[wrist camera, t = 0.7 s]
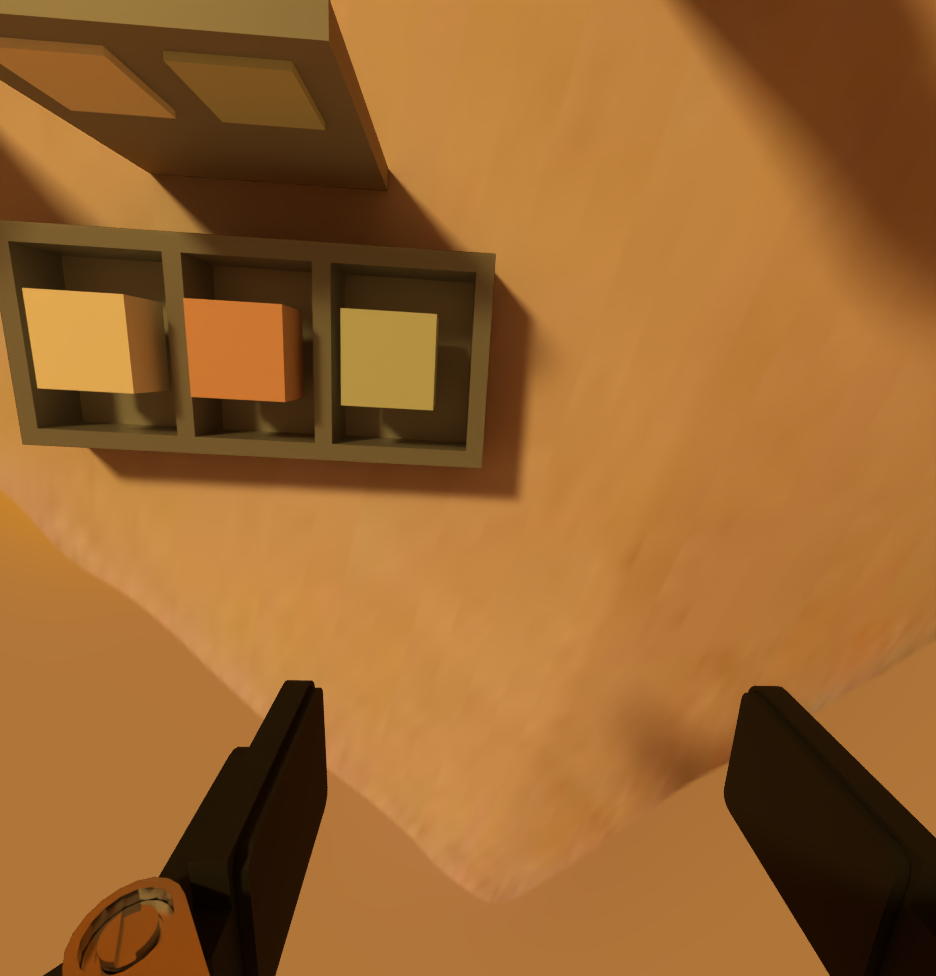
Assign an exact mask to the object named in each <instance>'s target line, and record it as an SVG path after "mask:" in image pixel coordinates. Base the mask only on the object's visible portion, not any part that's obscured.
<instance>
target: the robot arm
mask: <svg viewBox="0 0 936 976" xmlns="http://www.w3.org/2000/svg"><path fill="white" fill-rule="evenodd" d="M724 798H725V802H726V805H727V808H728V810H729V812H730V813H731V815H732V817H733V818H734V820H735V821H736V823H737V825H738V826H739V828H740V830H741V831H742V833H743V834H744V836H745V838H746V839H747V841H748V842H749V844H750V846H751V848H752V849H753V851H754V852H755V854H756V855H757V857H758V859H759V860H760V862H761V864H762V865H763V867H764V869H765V870H766V872H767V874H768V875H769V877H770V879H771V880H772V882H773V883H774V885H775V887H776V888H777V890H778V892H779V893H780V895H781V896H782V898H783V900H784V901H785V903H786V905H787V906H788V908H789V910H790V911H791V913H792V914H793V916H794V918H795V919H796V921H797V923H798V924H799V926H800V927H801V929H802V931H803V932H804V934H805V936H806V937H807V939H808V941H809V942H810V944H811V945H812V947H813V948H814V950H815V952H816V954H817V955H818V957H819V958H820V960H821V962H822V963H823V965H824V967H825V968H826V970H827V972H828V973H829V975H830V976H936V838H935V837H934V836H933V835H932V834H931V833H930V832H929V831H928V830H927V829H926V828H925V827H924V826H923V825H922V824H921V823H920V822H919V821H918V820H917V819H916V818H915V817H914V816H913V815H912V814H911V813H910V812H909V811H908V810H907V809H906V808H905V807H904V806H903V805H902V804H901V803H900V802H899V801H898V800H897V799H896V798H894V796H893V795H892V794H891V793H889V791H888V790H886V789H885V788H884V787H883V786H882V785H881V784H880V783H879V782H878V781H877V780H876V779H875V778H874V777H873V776H872V775H871V774H870V773H869V772H868V771H867V770H866V769H865V768H864V767H863V766H862V765H861V764H860V763H859V762H858V761H857V760H856V759H855V758H854V757H853V756H852V755H851V754H850V753H849V752H848V751H847V750H846V749H845V748H844V747H843V746H842V745H841V744H840V743H839V742H838V741H837V740H836V739H835V738H834V737H833V736H832V735H831V734H830V733H829V732H828V731H826V729H824V727H823V726H822V725H821V724H820V723H819V722H817V721H816V720H815V719H814V718H813V717H812V716H811V715H810V714H809V713H808V712H807V711H806V710H805V709H804V708H803V707H802V706H801V705H800V704H799V703H798V702H797V701H796V700H795V699H794V698H793V697H792V696H791V695H790V694H789V693H788V692H787V691H786V690H785V689H783V688H782V687H779V686H753V687H751V688H750V689H749V691H748V693H744V695H743V696H742V699H741V704H740V709H739V715H738V720H737V725H736V730H735V735H734V740H733V745H732V751H731V756H730V761H729V766H728V771H727V777H726V782H725V787H724ZM326 800H327V768H326V747H325V726H324V705H323V690H322V688H315V685H314V682H313V681H301V680H287V681H285V683H284V684H283V686H282V688H281V689H280V691H279V693H278V695H277V697H276V699H275V701H274V702H273V704H272V706H271V708H270V710H269V712H268V714H267V715H266V717H265V719H264V721H263V723H262V725H261V726H260V728H259V730H258V732H257V734H256V736H255V738H254V740H253V741H252V743H251V745H250V747H237V748H235V749H234V750H233V751H232V753H231V754H230V755H229V757H228V759H227V760H226V762H225V764H224V766H223V767H222V769H221V771H220V772H219V774H218V776H217V778H216V779H215V781H214V783H213V784H212V786H211V788H210V790H209V791H208V793H207V795H206V796H205V798H204V800H203V802H202V803H201V805H200V807H199V809H198V810H197V812H196V814H195V816H194V817H193V819H192V821H191V823H190V824H189V826H188V827H187V829H186V831H185V833H184V834H183V836H182V838H181V840H180V841H179V843H178V845H177V846H176V849H175V850H174V852H173V853H172V855H171V857H170V858H169V860H168V862H167V864H166V865H165V867H164V869H163V871H162V872H161V874H160V876H159V877H152V878H147V879H143V880H138V881H135V882H133V883H131V884H129V885H127V886H125V887H122V888H120V889H118V890H117V891H115V892H114V893H113V894H111V895H109V896H108V897H106V898H105V899H103V900H102V901H101V902H100V903H99V904H98V905H97V906H96V907H95V908H94V909H93V910H91V912H90V913H88V914H87V915H86V916H85V918H84V919H83V920H82V922H81V923H80V924H79V926H78V927H77V929H76V930H75V931H74V932H73V934H72V936H71V938H70V941H69V943H68V945H67V947H66V949H65V952H64V960H63V963H62V964H60V965H59V966H57V967H56V968H54V969H53V970H51V971H50V972H48V973H47V974H45V975H43V976H275V975H276V971H277V968H278V965H279V961H280V958H281V954H282V951H283V948H284V944H285V941H286V938H287V934H288V931H289V927H290V924H291V921H292V917H293V914H294V911H295V907H296V904H297V900H298V897H299V894H300V890H301V887H302V883H303V880H304V877H305V873H306V870H307V867H308V863H309V859H310V857H311V853H312V849H313V846H314V843H315V840H316V836H317V833H318V830H319V826H320V823H321V819H322V816H323V813H324V809H325V805H326Z"/></svg>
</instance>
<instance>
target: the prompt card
mask: <svg viewBox="0 0 936 976" xmlns="http://www.w3.org/2000/svg"><path fill="white" fill-rule="evenodd" d="M0 80H1V81H3V82H4V83H6V84H8V85H9V86H11V87H12V88H14V89H16V90H17V91H19V92H20V93H22V94H24V95H25V96H27V97H28V98H30V99H32V100H33V101H35V102H36V103H38V104H40V105H41V106H43V107H44V108H46V109H48V110H49V111H51V112H52V113H54V114H56V115H57V116H59V117H60V118H62V119H64V120H65V121H67V122H68V123H70V124H72V125H73V126H75V127H76V128H78V129H80V130H81V131H83V132H84V133H86V134H88V135H89V136H91V137H92V138H94V139H96V140H97V141H99V142H100V143H102V144H104V145H105V146H107V147H108V148H110V149H112V150H113V151H115V152H116V153H118V154H120V155H121V156H123V157H124V158H126V159H128V160H129V161H131V162H132V163H134V164H136V165H137V166H139V167H140V168H142V169H144V170H145V171H147V172H148V173H150V174H164V175H177V176H191V177H205V178H219V179H232V180H246V181H260V182H274V183H288V184H301V185H315V186H329V187H343V188H357V189H370V190H384V191H388V167H387V164H386V161H385V158H384V155H383V152H382V149H381V146H380V144H379V141H378V138H377V135H376V132H375V129H374V126H373V123H372V120H371V118H370V115H369V112H368V109H367V106H366V103H365V100H364V97H363V94H362V92H361V89H360V86H359V83H358V80H357V77H356V74H355V71H354V68H353V66H352V63H351V60H350V57H349V54H348V51H347V48H346V45H345V42H344V40H343V37H342V34H341V31H340V28H339V25H338V22H337V19H336V16H335V14H334V11H333V8H332V5H331V2H330V0H0Z"/></svg>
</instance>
